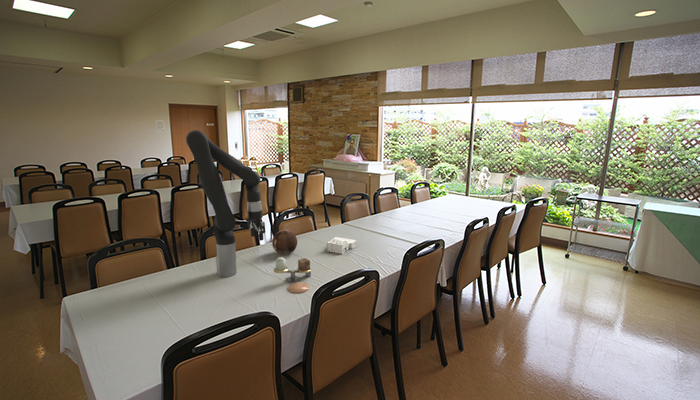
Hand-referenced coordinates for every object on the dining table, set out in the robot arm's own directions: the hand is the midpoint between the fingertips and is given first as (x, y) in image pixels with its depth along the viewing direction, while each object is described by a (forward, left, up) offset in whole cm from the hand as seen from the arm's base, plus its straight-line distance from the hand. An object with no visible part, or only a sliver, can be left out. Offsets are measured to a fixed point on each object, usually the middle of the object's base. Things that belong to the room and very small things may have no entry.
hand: (257, 238), depth 185 cm
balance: (+9, -23, -18) cm, 30 cm away
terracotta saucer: (+7, -33, -18) cm, 38 cm away
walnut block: (+16, -23, -13) cm, 31 cm away
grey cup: (+3, -23, -10) cm, 25 cm away
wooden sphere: (+22, +13, -18) cm, 31 cm away
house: (+58, +4, -18) cm, 61 cm away
